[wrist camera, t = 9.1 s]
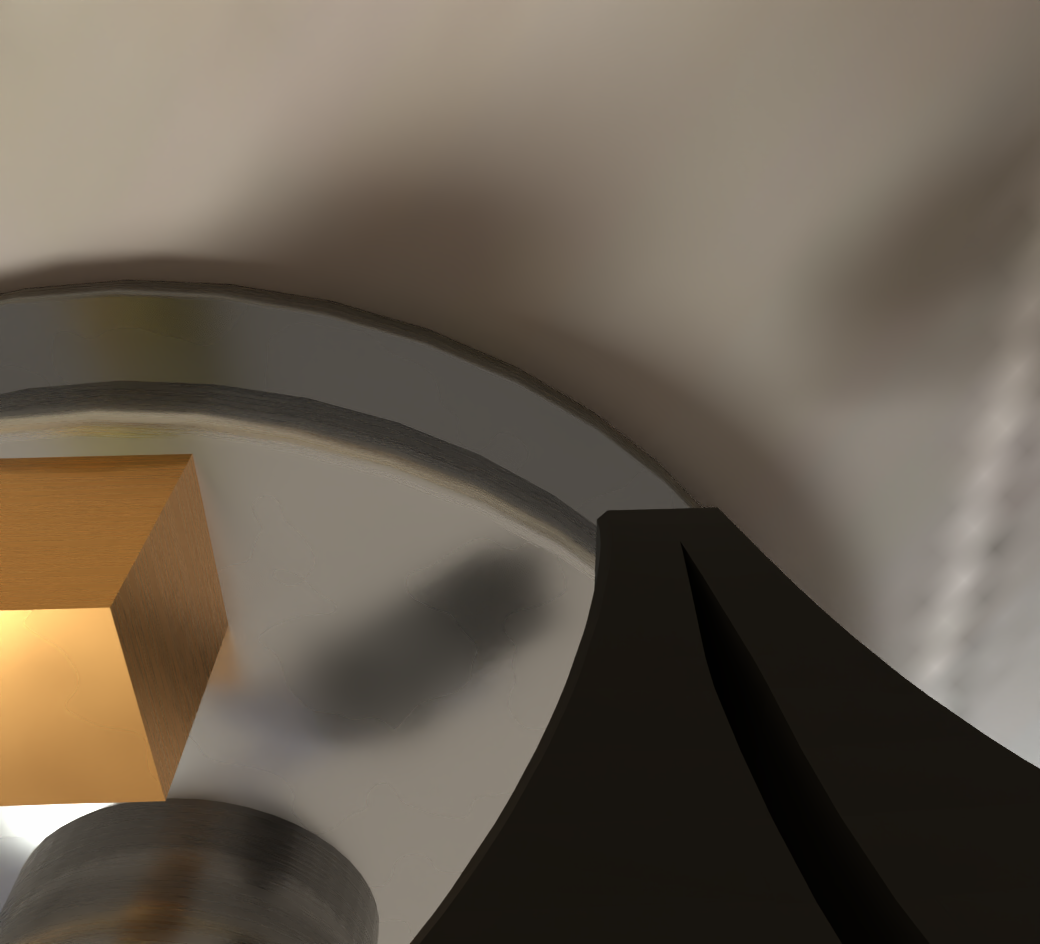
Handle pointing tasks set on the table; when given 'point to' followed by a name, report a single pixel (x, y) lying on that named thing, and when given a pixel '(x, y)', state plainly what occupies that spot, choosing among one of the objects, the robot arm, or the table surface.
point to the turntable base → (329, 375)
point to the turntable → (275, 623)
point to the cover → (187, 881)
